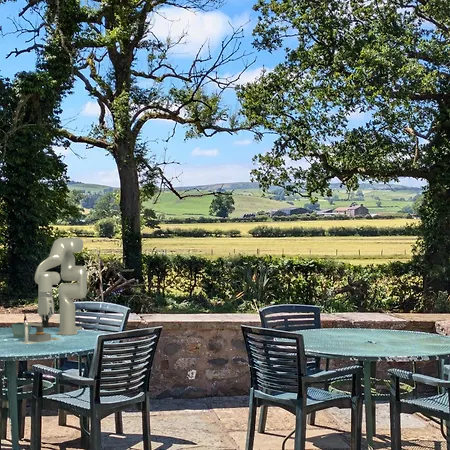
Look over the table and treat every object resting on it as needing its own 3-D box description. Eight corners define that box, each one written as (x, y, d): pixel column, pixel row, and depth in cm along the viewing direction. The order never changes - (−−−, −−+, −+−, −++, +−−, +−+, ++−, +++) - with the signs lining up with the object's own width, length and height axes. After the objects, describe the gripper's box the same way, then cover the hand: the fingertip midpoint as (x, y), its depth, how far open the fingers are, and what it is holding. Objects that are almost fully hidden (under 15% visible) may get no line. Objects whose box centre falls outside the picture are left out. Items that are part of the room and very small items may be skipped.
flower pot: (24, 339, 413) (24, 324, 413) (11, 339, 415) (11, 324, 415) (31, 337, 422) (31, 322, 422) (18, 337, 424) (18, 322, 424)
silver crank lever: (22, 325, 398) (22, 321, 398) (26, 324, 401) (26, 321, 401) (40, 326, 393) (40, 323, 393) (44, 326, 396) (44, 322, 396)
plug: (40, 339, 409) (41, 324, 409) (45, 340, 406) (45, 325, 406) (34, 340, 406) (34, 325, 406) (38, 341, 403) (38, 325, 403)
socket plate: (43, 339, 414) (43, 322, 414) (53, 341, 407) (53, 323, 407) (18, 343, 401) (18, 325, 401) (28, 345, 394) (28, 326, 394)
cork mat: (55, 338, 416) (55, 337, 416) (61, 339, 412) (61, 338, 412) (48, 339, 412) (48, 338, 412) (54, 340, 409) (54, 339, 409)
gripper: (58, 295, 394) (58, 327, 394) (43, 293, 404) (43, 325, 404) (47, 296, 388) (47, 329, 388) (31, 294, 398) (32, 326, 398)
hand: (45, 327), depth 396 cm, fingers closed
